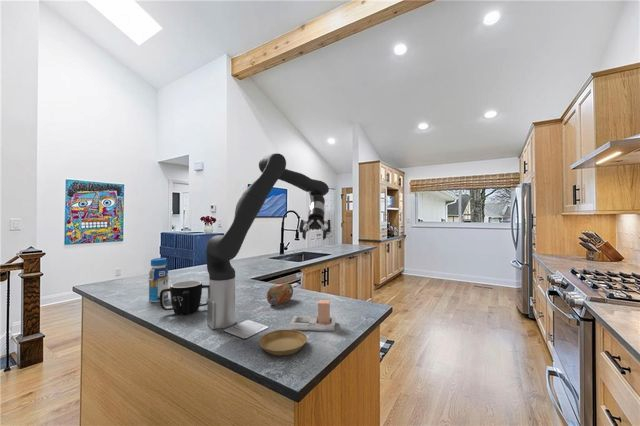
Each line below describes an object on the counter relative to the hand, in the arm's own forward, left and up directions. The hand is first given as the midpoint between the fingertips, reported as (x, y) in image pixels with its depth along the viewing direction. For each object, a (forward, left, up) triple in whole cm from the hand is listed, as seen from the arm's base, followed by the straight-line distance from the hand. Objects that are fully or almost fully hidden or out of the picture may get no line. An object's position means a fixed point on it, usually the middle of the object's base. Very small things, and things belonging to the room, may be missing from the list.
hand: (314, 238), depth 119 cm
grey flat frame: (-12, -15, -31) cm, 36 cm away
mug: (-44, +32, -31) cm, 63 cm away
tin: (-7, +17, -31) cm, 36 cm away
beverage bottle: (-50, +59, -31) cm, 83 cm away
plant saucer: (-29, -21, -31) cm, 48 cm away
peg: (-9, -17, -31) cm, 36 cm away
